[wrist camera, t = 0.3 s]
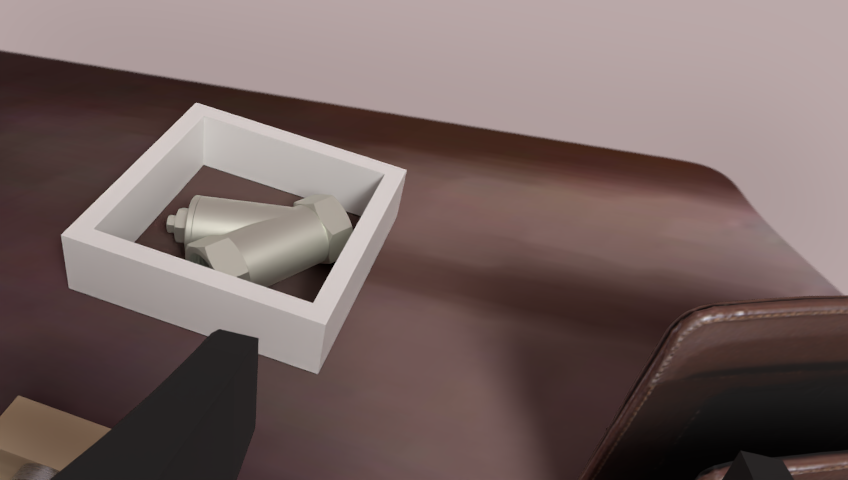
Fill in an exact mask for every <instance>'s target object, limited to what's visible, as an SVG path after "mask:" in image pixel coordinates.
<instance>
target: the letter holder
mask: <svg viewBox="0 0 848 480" xmlns="http://www.w3.org/2000/svg"><path fill="white" fill-rule="evenodd" d="M740 450H741V451H745V452H749V453H754V454H758V455H762V456H767V457H771V458H775V459H779V460H783V462H784V464H785V465H786V467H787V469H788V470H789V472H790V474H791V475H792V477H793V479H794V480H848V296H803V297H784V298H770V299H755V300H741V301H729V302H716V303H711V304H706V305H702V306H699V307H696V308H694V309H691V310H689V311H687V312H685V313H683V314H682V315H680V316H679V317H678V318H677V319H676V320H675V321H673V322H672V323H671V325H670V326H669V327H668V328H667V330H666V331H665V332H664V334H663V336H662V338H661V339H660V341H659V343H658V344H657V346H656V348H655V349H654V351H653V352H652V354H651V356H650V357H649V359H648V361H647V362H646V364H645V366H644V367H643V369H642V370H641V372H640V374H639V375H638V377H637V379H636V380H635V382H634V384H633V385H632V387H631V389H630V391H629V393H628V394H627V396H626V398H625V399H624V402H623V404H622V405H621V407H620V408H619V410H618V412H617V414H616V416H615V417H614V419H613V421H612V423H611V424H610V426H609V427H608V428H607V429H606V432H605V434H604V436H603V438H602V439H601V441H600V442H599V444H598V445H597V447H596V449H595V451H594V453H593V455H592V456H591V458H590V460H589V462H588V463H587V465H586V467H585V468H584V470H583V472H582V473H581V475H580V476H579V478H578V479H577V480H722V479H723V477H724V476H725V474H726V473H727V471H728V469H729V468H730V466H731V465H732V463H733V461H734V460H735V458H736V457H737V455H738V454H739V452H740Z"/></svg>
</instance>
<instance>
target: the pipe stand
mask: <svg viewBox="0 0 848 480" xmlns="http://www.w3.org/2000/svg"><path fill="white" fill-rule="evenodd" d="M110 430H111V429H110V428H107V427H105V426H102V425H99V424H96V423H93V422H91V421H88V420H85V419H82V418H80V417H77V416H74V415H71V414H69V413H66V412H63V411H60V410H57V409H55V408H52V407H49V406H46V405H44V404H41V403H38V402H35V401H32V400H30V399H27V398H24V397H21V396H19V395H18V397H17V398H16V399H15V400H14V401H13V402H12V403H11V405H10V406H9V407H8V408H7V409H6V410H5V412H4V413H3V414H2V415H1V416H0V480H11V479H12V478H13V477H14V475H15V474H16V473H17V472H18V470H19V469H20V468H21V467H22V466H23V465H24V464H28V463H36V464H41V465H45V466H48V467H51V468H53V469H55V470H57V471H59V472H60V471H61V470H62V469H63V468H65V467H66V466H67V465H68V464H70V463H71V462H72V461H73V460H75V459H76V458H77V457H78V456H79V455H81V454H82V453H83V452H84V451H86V450H87V449H88V448H89V447H91V446H92V445H93V444H94V443H95V442H97V441H98V440H99V439H100V438H102V437H103V436H104V435H105V434H106V433H107V432H109V431H110Z"/></svg>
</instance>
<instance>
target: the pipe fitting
mask: <svg viewBox="0 0 848 480" xmlns="http://www.w3.org/2000/svg"><path fill="white" fill-rule="evenodd" d="M167 232H171V233H174V237H175V240H176V242H181V243H184V248H185V260H187V261H190V262H193V263H196V264H198V265H201V266H204V267H207V268H210V269H213V270H216V271H219V272H222V273H225V274H228V275H231V276H234V277H237V278H240V279H243V280H246V281H249V282H252V283H255V284H258V285H261V286H264V287H268V286H271V285H273V284H275V283H277V282H279V281H282V280H284V279H286V278H288V277H290V276H293V275H295V274H297V273H299V272H301V271H303V270H306V269H308V268H310V267H312V266H314V265H317V264H319V263H322V264H331V263H333V262H335V261H337V259H338V257H339V256H340V254H341V252H342V250H343V249H344V247H345V245H346V243H347V241H348V240H349V238H350V236H351V234H352V232H353V229H352V225H351V222H350V219H349V217H348V215H347V213H346V211H345V209H344V208H343V206H342V205H341V204H340V202H339V201H338V200H337V199H336V198H335V197H334V196H333V195H327V194H319V195H312V196H309V197H306V198H304V199H301V200H299V201H296V202H294V203H293V207H288V206H280V205H272V204H264V203H256V202H248V201H239V200H231V199H223V198H215V197H207V196H199V195H196V196H194V197H193V199H192V200H191V203H190V205H189V208H180V209H179V210H178V212H177V214H176V215H170V216H169V217H168V220H167Z"/></svg>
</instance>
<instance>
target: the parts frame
mask: <svg viewBox="0 0 848 480" xmlns="http://www.w3.org/2000/svg"><path fill="white" fill-rule="evenodd" d="M203 165H206V166H209V167H212V168H215V169H218V170H221V171H224V172H227V173H230V174H233V175H236V176H239V177H243V178H246V179H249V180H252V181H255V182H258V183H261V184H264V185H267V186H270V187H273V188H276V189H279V190H282V191H285V192H288V193H291V194H295V195H298V196H301V197H304V198H306V197H309V196H312V195H319V194H327V195H333V196H334V197H335V198H336V199H337V200H338V201H339V202H340V204H341V205H342V206H343V208H344V209H345V211H347V212H350V213H353V214H356V215H359V216H361V218H360V220H359V222H358V223H357V225H356V227H355V229H354V231H353V232H352V234H351V236H350V238H349V240H348V241H347V243H346V245H345V247H344V249H343V250H342V252H341V254H340V256H339V257H338V259H337V261H336V263H335V265H334V266H333V268H332V270H331V272H330V274H329V275H328V277H327V279H326V281H325V283H324V284H323V286H322V288H321V290H320V292H319V293H318V295H317V297H316V299H315V301H314V302H313V303H311V302H308V301H305V300H302V299H299V298H296V297H293V296H290V295H287V294H284V293H281V292H278V291H275V290H272V289H269V288H267V287H264V286H261V285H258V284H255V283H252V282H249V281H246V280H243V279H240V278H237V277H234V276H231V275H228V274H225V273H222V272H219V271H216V270H213V269H210V268H207V267H204V266H201V265H198V264H196V263H193V262H190V261H187V260H184V259H181V258H178V257H175V256H172V255H169V254H166V253H163V252H160V251H157V250H154V249H151V248H148V247H145V246H142V245H139V244H136V243H134V242H135V241H136V240H137V239H138V238H139V237H140V235H141V234H142V233H143V232H144V231H145V230H146V229H147V228H148V227H149V225H150V224H151V223H152V222H153V221H154V220H155V219H156V218H157V216H158V215H159V214H160V213H161V212H162V211H163V210H164V209H165V207H166V206H167V205H168V204H169V203H170V202H171V201H172V200H173V199H174V197H175V196H176V195H177V194H178V193H179V192H180V191H181V190H182V188H183V187H184V186H185V185H186V184H187V183H188V182H189V181H190V180H191V178H192V177H193V176H194V175H195V174H196V173H197V172H198V171H199V169H200V168H201V167H202V166H203ZM406 171H407V170H405V169H402V168H399V167H396V166H393V165H390V164H386V163H383V162H380V161H377V160H374V159H371V158H368V157H365V156H361V155H358V154H355V153H352V152H349V151H346V150H343V149H340V148H336V147H333V146H330V145H327V144H324V143H321V142H318V141H315V140H311V139H308V138H305V137H302V136H299V135H296V134H293V133H290V132H286V131H283V130H280V129H277V128H274V127H271V126H268V125H265V124H261V123H258V122H255V121H252V120H249V119H246V118H243V117H240V116H236V115H233V114H230V113H227V112H224V111H221V110H218V109H215V108H211V107H208V106H205V105H202V104H199V103H195V104H194V105H193V106H192V107H191V108H190V109H189V110H188V111H187V112H186V113H185V114H184V115H183V116H182V117H181V118H180V119H179V120H178V121H177V122H176V123H175V124H174V125H173V126H172V127H171V128H170V129H169V130H168V131H167V132H166V133H165V134H164V135H163V136H162V137H161V138H160V139H159V140H158V141H156V142H155V143H154V144H153V145H152V146H151V147H150V148H149V149H148V150H147V151H146V152H145V153H144V154H143V155H142V156H141V157H140V158H139V159H138V160H137V161H136V162H135V163H134V164H133V165H132V166H131V167H130V168H129V169H128V170H127V171H126V172H125V173H124V174H123V175H122V176H121V177H120V178H119V179H118V180H117V181H116V182H115V183H114V184H113V185H112V186H110V187H109V188H108V189H107V190H106V191H105V192H104V193H103V194H102V195H101V196H100V197H99V198H98V199H97V200H96V201H95V202H94V203H93V204H92V205H91V206H90V207H89V208H88V209H87V210H86V211H85V212H84V213H83V214H82V215H81V216H80V217H79V218H78V219H77V220H76V221H75V222H74V223H73V224H72V225H71V226H70V227H69V228H68V229H67V230H65V231H64V232H63V233H62V234H61V239H62V246H63V252H64V259H65V266H66V272H67V279H68V286H69V288H70V289H73V290H76V291H78V292H81V293H84V294H87V295H90V296H93V297H96V298H99V299H102V300H104V301H107V302H110V303H113V304H116V305H119V306H122V307H125V308H128V309H130V310H133V311H136V312H139V313H142V314H145V315H148V316H151V317H154V318H156V319H159V320H162V321H165V322H168V323H171V324H174V325H177V326H180V327H182V328H185V329H188V330H191V331H194V332H197V333H200V334H203V335H206V336H209V335H210V334H211V333H212V332H214V331H216V330H218V329H222V330H226V331H230V332H235V333H239V334H243V335H247V336H252V337H256V338H259V343H258V354H261V355H263V356H266V357H269V358H272V359H275V360H278V361H281V362H284V363H287V364H289V365H292V366H295V367H298V368H301V369H304V370H307V371H310V372H313V373H315V374H318V373H319V371H320V369H321V367H322V365H323V363H324V361H325V359H326V357H327V355H328V353H329V351H330V349H331V347H332V345H333V343H334V341H335V339H336V337H337V335H338V333H339V331H340V329H341V327H342V325H343V323H344V321H345V319H346V317H347V315H348V313H349V311H350V309H351V307H352V305H353V303H354V301H355V299H356V297H357V295H358V293H359V291H360V289H361V287H362V285H363V283H364V281H365V279H366V277H367V275H368V273H369V271H370V269H371V267H372V265H373V263H374V261H375V259H376V257H377V255H378V253H379V251H380V249H381V247H382V245H383V243H384V241H385V239H386V237H387V235H388V233H389V231H390V229H391V227H392V225H393V223H394V221H395V219H396V217H397V213H398V209H399V204H400V199H401V195H402V190H403V185H404V181H405V176H406Z"/></svg>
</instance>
